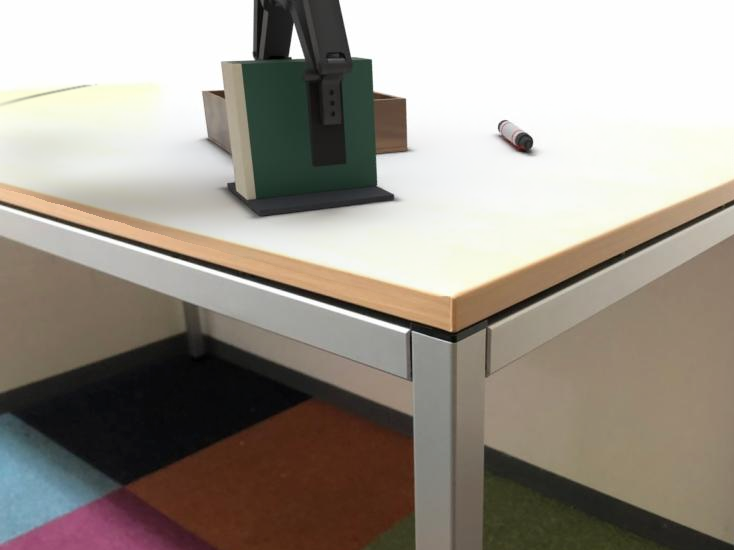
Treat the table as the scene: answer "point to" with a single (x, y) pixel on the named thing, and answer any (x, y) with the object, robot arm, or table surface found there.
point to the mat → (314, 199)
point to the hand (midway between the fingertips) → (304, 152)
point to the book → (294, 129)
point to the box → (386, 115)
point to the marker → (515, 135)
